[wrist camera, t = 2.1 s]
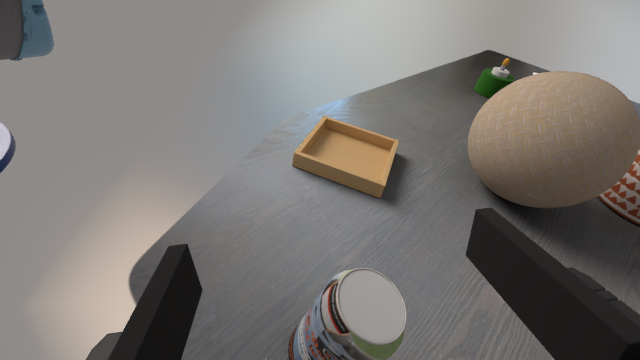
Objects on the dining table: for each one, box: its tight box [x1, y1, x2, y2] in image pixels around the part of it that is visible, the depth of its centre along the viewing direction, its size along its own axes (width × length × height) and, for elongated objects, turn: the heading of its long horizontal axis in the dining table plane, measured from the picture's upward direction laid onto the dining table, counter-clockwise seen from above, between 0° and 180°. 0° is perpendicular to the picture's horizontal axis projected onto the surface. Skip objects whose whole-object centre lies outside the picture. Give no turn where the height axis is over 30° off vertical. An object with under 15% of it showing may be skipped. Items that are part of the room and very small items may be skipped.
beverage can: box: [289, 268, 407, 360], centre depth 22 cm, size 6×7×12 cm
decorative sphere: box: [468, 71, 640, 208], centre depth 43 cm, size 20×20×20 cm
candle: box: [474, 58, 514, 98], centre depth 81 cm, size 8×8×10 cm
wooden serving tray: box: [293, 116, 399, 198], centre depth 49 cm, size 15×14×3 cm
